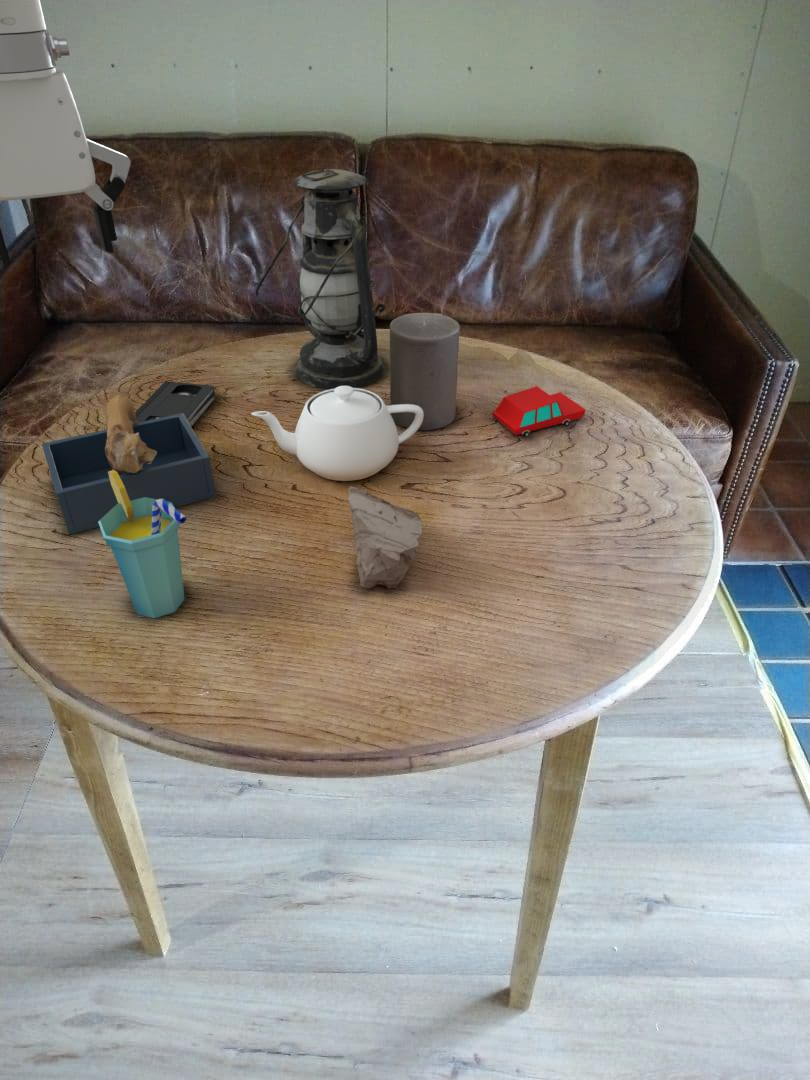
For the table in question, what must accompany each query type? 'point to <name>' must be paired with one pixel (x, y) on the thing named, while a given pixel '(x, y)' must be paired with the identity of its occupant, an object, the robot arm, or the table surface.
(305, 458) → the teapot
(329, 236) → the lantern
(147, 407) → the vhs tape
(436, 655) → the table surface
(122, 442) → the lion figurine
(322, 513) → the table surface
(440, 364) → the pillar candle
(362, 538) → the stone
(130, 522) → the cup
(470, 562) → the table surface
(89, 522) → the dark blue storage bin
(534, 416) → the toy car
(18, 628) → the table surface
